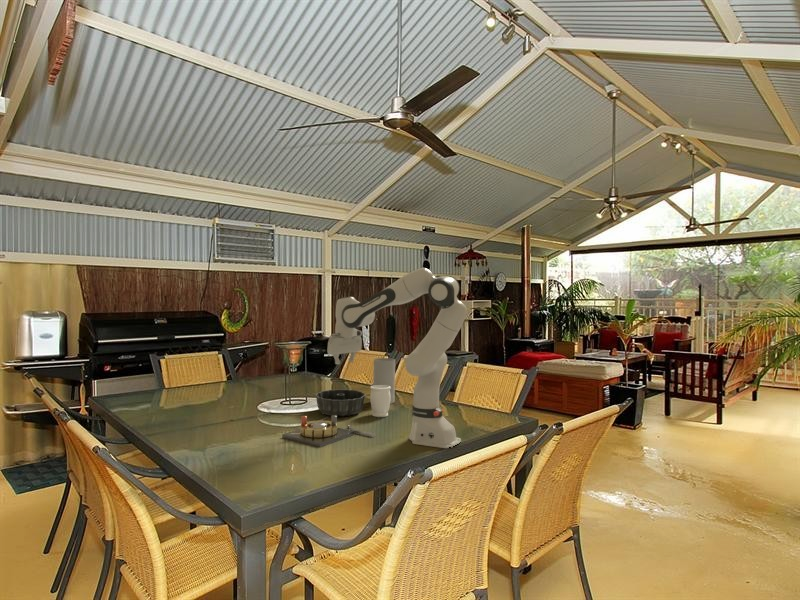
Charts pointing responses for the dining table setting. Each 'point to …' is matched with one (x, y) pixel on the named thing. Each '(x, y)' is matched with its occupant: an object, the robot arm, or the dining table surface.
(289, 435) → the cap plate
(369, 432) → the spanner
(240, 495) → the dining table surface
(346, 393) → the bundt pan
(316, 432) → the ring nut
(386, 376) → the cylinder vase
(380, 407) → the jar
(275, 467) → the dining table surface
